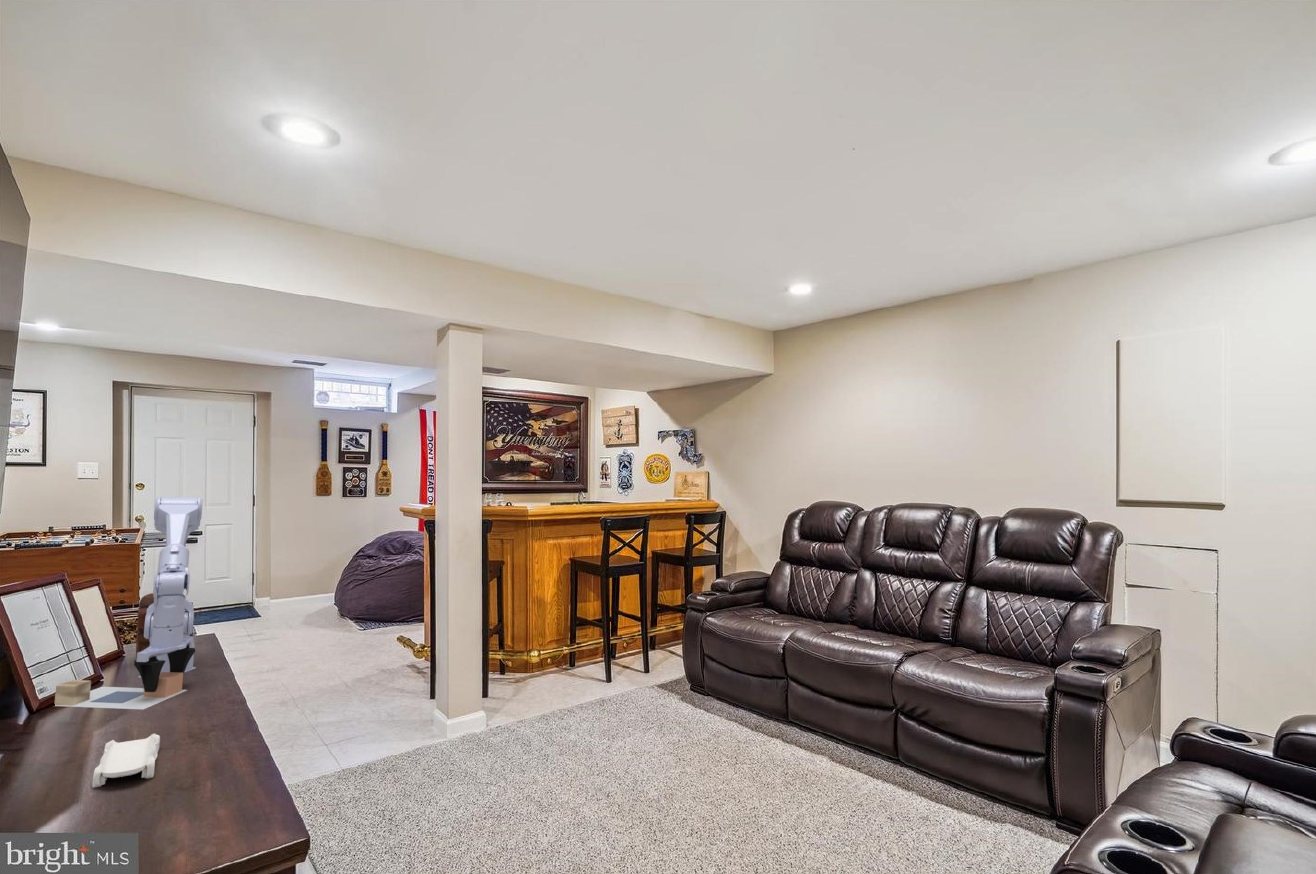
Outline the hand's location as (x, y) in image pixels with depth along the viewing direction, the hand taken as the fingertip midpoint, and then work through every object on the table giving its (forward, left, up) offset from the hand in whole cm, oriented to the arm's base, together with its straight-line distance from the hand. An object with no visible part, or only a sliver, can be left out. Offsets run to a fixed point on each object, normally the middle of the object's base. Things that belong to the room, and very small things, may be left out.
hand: (163, 686), depth 150 cm
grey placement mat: (+3, -7, -2) cm, 8 cm away
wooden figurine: (-25, -23, -2) cm, 33 cm away
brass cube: (+7, -14, -2) cm, 16 cm away
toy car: (+36, +21, -3) cm, 41 cm away
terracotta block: (0, 0, -2) cm, 2 cm away
